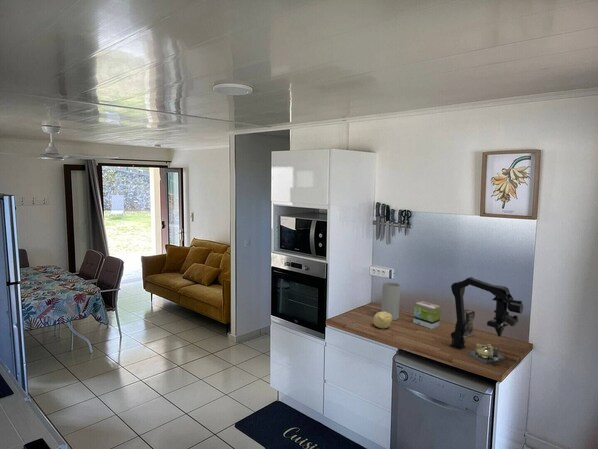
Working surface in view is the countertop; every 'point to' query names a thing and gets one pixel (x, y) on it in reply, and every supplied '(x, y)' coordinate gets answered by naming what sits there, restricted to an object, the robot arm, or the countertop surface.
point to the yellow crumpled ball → (382, 319)
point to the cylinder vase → (391, 299)
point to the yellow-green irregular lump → (487, 351)
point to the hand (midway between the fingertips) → (499, 336)
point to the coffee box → (469, 321)
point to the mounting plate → (484, 360)
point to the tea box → (426, 314)
